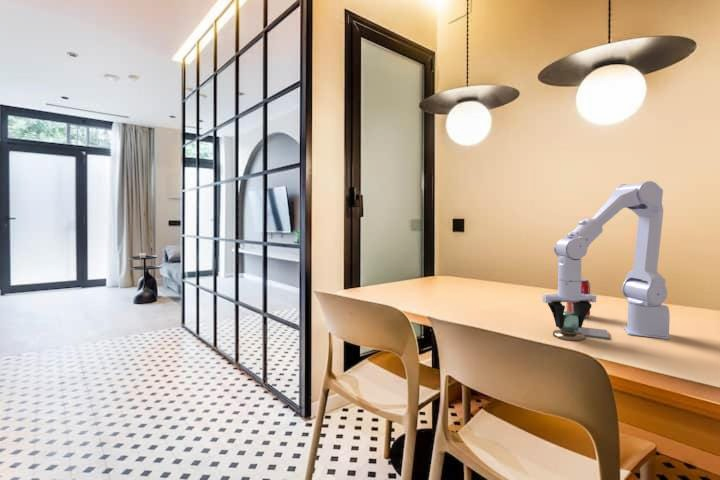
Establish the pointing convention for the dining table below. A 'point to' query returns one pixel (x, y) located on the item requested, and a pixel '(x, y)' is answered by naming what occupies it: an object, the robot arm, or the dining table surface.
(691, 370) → the dining table surface
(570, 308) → the soda can
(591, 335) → the coaster
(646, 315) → the robot arm
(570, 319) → the teal mug
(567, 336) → the bronze metal disc
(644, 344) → the dining table surface
